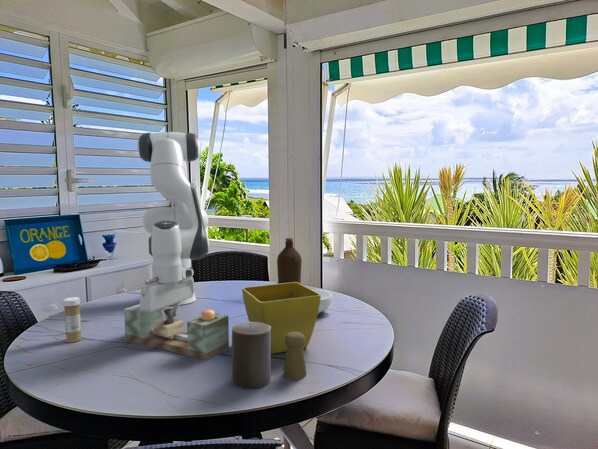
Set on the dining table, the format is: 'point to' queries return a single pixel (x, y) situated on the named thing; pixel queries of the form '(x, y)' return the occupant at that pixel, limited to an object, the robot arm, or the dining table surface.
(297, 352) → the game pawn
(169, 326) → the carriage
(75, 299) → the sprinkles bottle
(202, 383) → the dining table surface
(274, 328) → the flower pot
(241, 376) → the pillar candle
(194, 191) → the robot arm
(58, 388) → the dining table surface
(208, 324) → the rail bed
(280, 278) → the olive oil
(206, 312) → the plunger
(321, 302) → the cereal bowl
